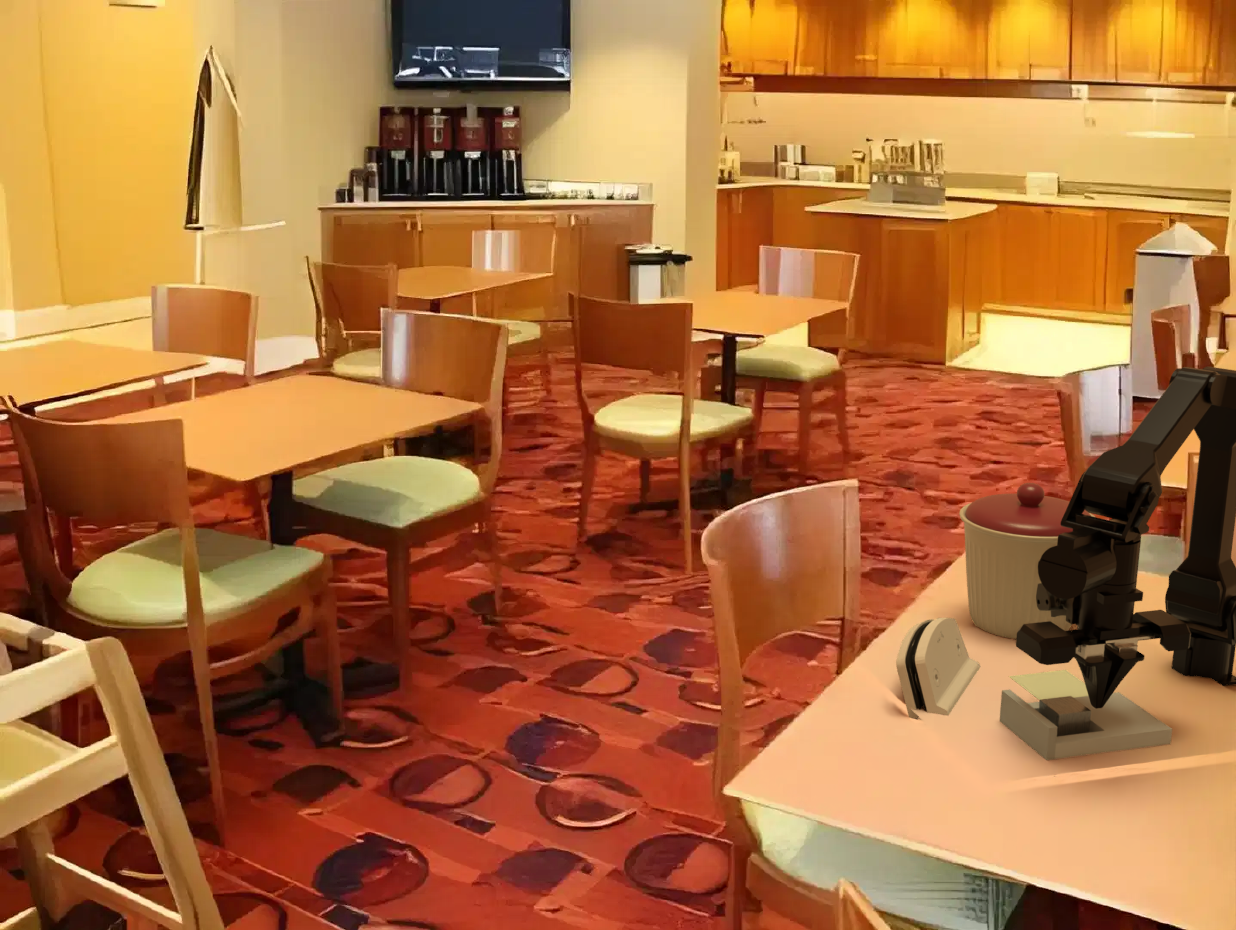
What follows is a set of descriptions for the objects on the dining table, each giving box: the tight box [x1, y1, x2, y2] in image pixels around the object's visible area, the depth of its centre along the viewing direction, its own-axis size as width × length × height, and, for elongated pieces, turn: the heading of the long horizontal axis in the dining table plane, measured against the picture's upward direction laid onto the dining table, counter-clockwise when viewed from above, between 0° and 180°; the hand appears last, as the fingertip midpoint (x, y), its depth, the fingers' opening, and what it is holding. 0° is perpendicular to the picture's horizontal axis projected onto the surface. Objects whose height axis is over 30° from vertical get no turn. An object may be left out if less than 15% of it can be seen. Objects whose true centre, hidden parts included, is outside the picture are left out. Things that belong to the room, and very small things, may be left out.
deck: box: [999, 688, 1173, 761], centre depth 153 cm, size 16×10×5 cm, turn 104°
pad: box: [1008, 669, 1088, 701], centre depth 166 cm, size 8×8×1 cm
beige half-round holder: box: [895, 617, 981, 719], centre depth 166 cm, size 17×5×10 cm, turn 152°
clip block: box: [1038, 696, 1091, 737], centre depth 153 cm, size 5×4×4 cm
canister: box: [958, 482, 1096, 640], centre depth 184 cm, size 18×18×21 cm
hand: (1096, 707), depth 153 cm, fingers closed
